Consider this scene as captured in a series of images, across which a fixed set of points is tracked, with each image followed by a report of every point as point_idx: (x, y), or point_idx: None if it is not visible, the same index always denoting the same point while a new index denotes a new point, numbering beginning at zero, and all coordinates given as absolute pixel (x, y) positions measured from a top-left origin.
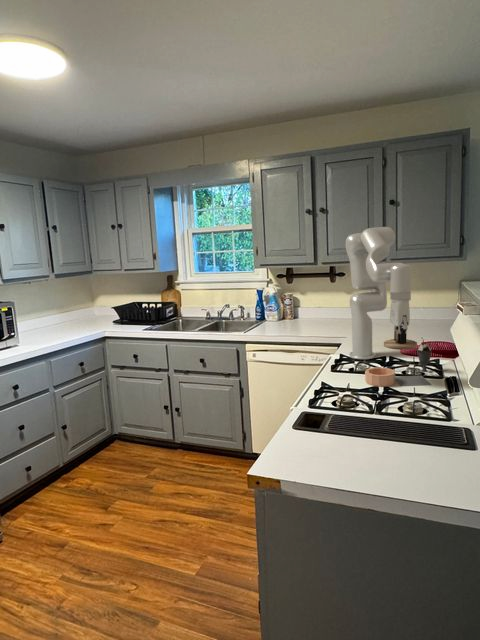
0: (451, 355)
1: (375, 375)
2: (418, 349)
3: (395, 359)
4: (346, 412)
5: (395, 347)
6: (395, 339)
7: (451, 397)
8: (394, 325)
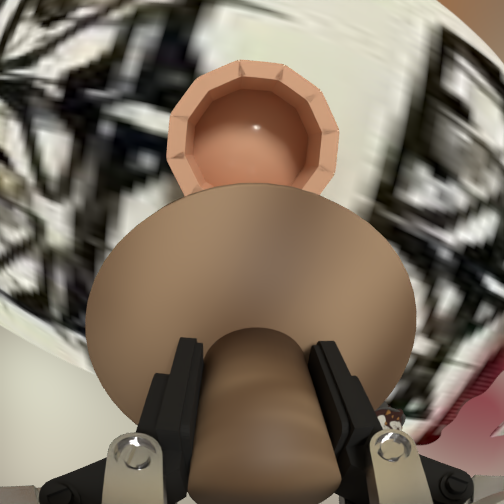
0: (429, 442)
1: (184, 94)
2: (380, 417)
3: (487, 314)
4: (15, 3)
5: (104, 265)
6: (315, 355)
7: (72, 342)
8: (425, 494)
